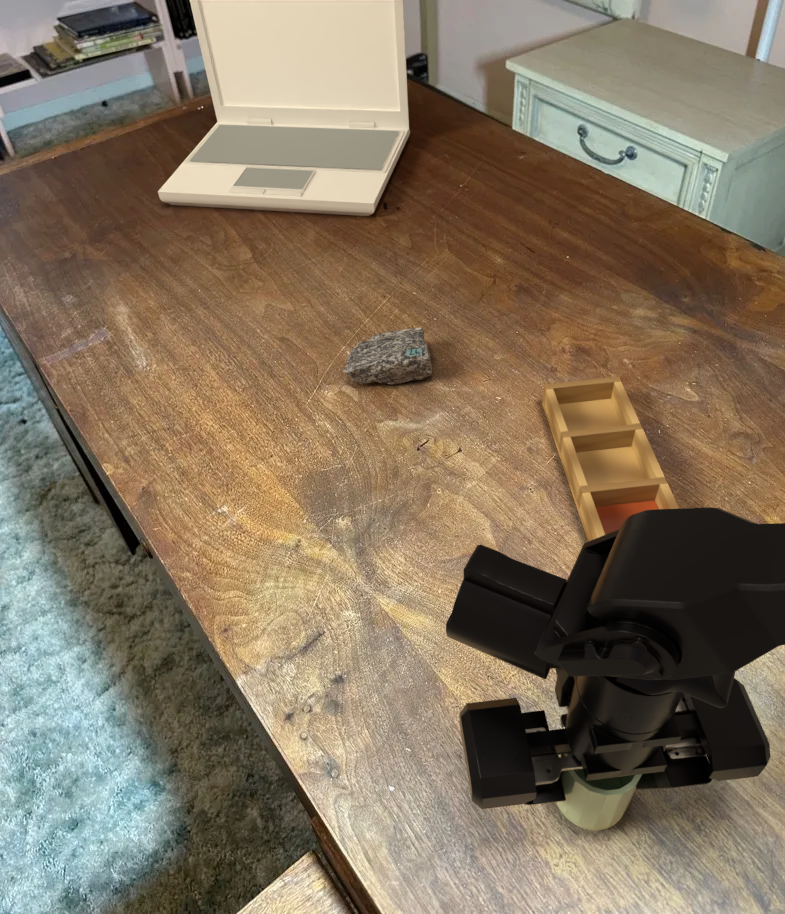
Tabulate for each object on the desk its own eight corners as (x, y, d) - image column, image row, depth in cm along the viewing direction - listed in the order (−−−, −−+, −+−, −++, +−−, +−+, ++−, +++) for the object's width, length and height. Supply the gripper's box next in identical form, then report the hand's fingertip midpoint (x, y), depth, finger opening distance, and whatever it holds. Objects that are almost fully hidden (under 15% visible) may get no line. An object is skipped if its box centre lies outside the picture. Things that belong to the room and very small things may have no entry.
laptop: (162, 207, 121) (101, 8, 101) (223, 133, 139) (181, -49, 118) (375, 219, 115) (356, 9, 94) (410, 140, 132) (401, -51, 111)
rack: (688, 565, 69) (696, 545, 67) (599, 575, 69) (604, 556, 67) (615, 396, 85) (619, 375, 83) (542, 404, 85) (544, 384, 83)
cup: (636, 826, 54) (654, 790, 49) (563, 834, 54) (573, 799, 49) (614, 752, 58) (629, 712, 53) (545, 760, 58) (554, 721, 53)
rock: (348, 348, 94) (344, 320, 91) (431, 345, 93) (430, 317, 90) (345, 390, 88) (341, 362, 85) (433, 386, 88) (432, 358, 85)
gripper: (731, 554, 50) (680, 670, 61) (446, 587, 49) (448, 697, 61) (811, 718, 42) (736, 815, 53) (475, 757, 42) (471, 847, 53)
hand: (592, 786), depth 55 cm, fingers closed on cup, 5 cm apart
